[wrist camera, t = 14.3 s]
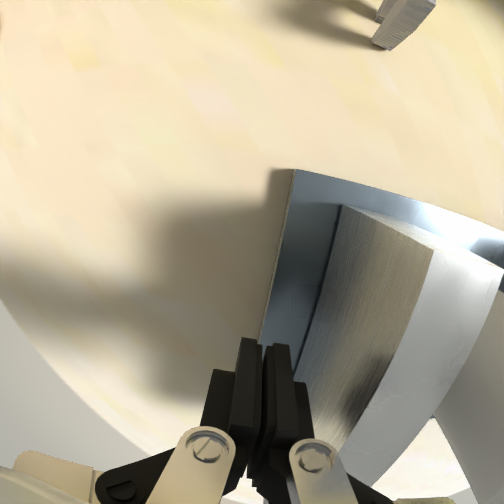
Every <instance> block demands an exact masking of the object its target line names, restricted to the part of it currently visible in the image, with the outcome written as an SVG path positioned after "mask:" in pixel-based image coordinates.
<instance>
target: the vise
mask: <svg viewBox="0 0 504 504" xmlns="http://www.w3.org/2000/svg"><path fill="white" fill-rule="evenodd" d="M343 204H345V205H349V206H353V207H358V208H362V209H366V210H370V211H374V212H378V213H382V214H385V215H389V216H393V217H396V218H398V219H401V220H403V221H405V222H408V223H410V224H412V225H415V226H417V227H419V228H421V229H424V230H426V231H428V232H430V233H432V234H435V235H437V236H439V237H441V238H443V239H445V240H447V241H450V242H452V243H454V244H456V245H458V246H460V247H462V248H464V249H466V250H468V251H470V252H472V253H474V254H476V255H478V256H480V257H482V258H483V259H485V260H487V261H489V262H491V263H493V264H495V265H497V266H498V267H500V268H502V269H504V232H502V231H499V230H497V229H494V228H492V227H490V226H487V225H485V224H482V223H480V222H477V221H474V220H472V219H469V218H466V217H464V216H461V215H458V214H456V213H453V212H450V211H447V210H444V209H441V208H439V207H436V206H433V205H430V204H427V203H424V202H420V201H417V200H414V199H411V198H408V197H405V196H401V195H398V194H395V193H391V192H388V191H384V190H381V189H377V188H374V187H370V186H366V185H362V184H359V183H355V182H351V181H347V180H343V179H339V178H335V177H331V176H326V175H322V174H318V173H313V172H309V171H304V170H299V169H294V171H293V177H292V182H291V187H290V192H289V197H288V202H287V207H286V212H285V217H284V222H283V227H282V232H281V237H280V242H279V247H278V251H277V256H276V261H275V266H274V270H273V275H272V280H271V284H270V289H269V293H268V298H267V303H266V307H265V312H264V316H263V320H262V325H261V329H260V334H259V338H258V342H257V344H261V345H263V351H262V361H263V357H264V353H265V350H266V346H267V345H268V346H272V344H273V343H281V344H288V345H289V347H290V355H291V363H292V371H293V378H294V375H295V372H296V369H297V366H298V364H299V361H300V358H301V355H302V352H303V349H304V345H305V342H306V339H307V336H308V333H309V330H310V326H311V323H312V320H313V317H314V313H315V310H316V307H317V303H318V300H319V296H320V293H321V289H322V285H323V282H324V278H325V275H326V271H327V267H328V263H329V259H330V255H331V252H332V248H333V244H334V239H335V235H336V231H337V227H338V223H339V218H340V214H341V209H342V205H343ZM498 290H500V291H501V292H503V293H504V273H503V276H502V279H501V282H500V285H499V288H498ZM431 418H435V417H434V415H433V414H432V416H431V417H430V419H431Z"/></svg>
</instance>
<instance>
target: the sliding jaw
mask: <svg viewBox="0 0 504 504" xmlns="http://www.w3.org/2000/svg"><path fill="white" fill-rule="evenodd" d="M503 273H504V269H502V268H500V267H498V266H497V265H495V264H493V263H491V262H489V261H487V260H485V259H483V258H482V257H480V256H478V255H476V254H474V253H472V252H470V251H468V250H466V249H464V248H462V247H460V246H458V245H456V244H454V243H452V242H450V241H447V240H445V239H443V238H441V237H439V236H437V235H435V234H432V233H430V232H428V231H426V230H424V229H421V228H419V227H417V226H415V225H412V224H410V223H408V222H405V221H403V220H401V219H398V218H396V217H393V216H389V215H385V214H382V213H378V212H374V211H370V210H366V209H362V208H358V207H353V206H349V205H345V204H343V205H342V209H341V214H340V218H339V223H338V227H337V231H336V235H335V239H334V244H333V248H332V252H331V255H330V259H329V263H328V267H327V271H326V275H325V278H324V282H323V285H322V289H321V293H320V296H319V300H318V303H317V307H316V310H315V313H314V317H313V320H312V323H311V326H310V330H309V333H308V336H307V339H306V342H305V345H304V349H303V352H302V355H301V358H300V361H299V364H298V366H297V369H296V372H295V375H294V378H293V380H294V381H297V382H305V383H306V386H307V391H308V397H309V403H310V409H311V416H312V422H313V428H314V435H315V439H319V440H323V441H325V442H327V443H329V444H331V445H332V446H333V447H334V448H335V449H336V451H337V452H338V454H339V456H340V459H341V461H342V464H343V466H344V469H345V471H346V472H347V473H348V474H350V475H351V476H353V477H354V478H356V479H357V480H359V481H361V482H362V483H364V484H366V485H367V486H369V487H371V486H372V485H373V484H374V483H375V482H376V481H377V480H378V479H379V478H380V477H381V476H382V475H383V474H384V473H385V472H386V471H387V470H388V469H389V468H390V467H391V466H392V464H393V463H394V462H395V461H396V460H397V459H398V458H399V457H400V455H401V454H402V453H403V452H404V451H405V450H406V448H407V447H408V446H409V445H410V443H411V442H412V441H413V440H414V438H415V437H416V436H417V435H418V433H419V432H420V431H421V429H422V428H423V427H424V425H425V424H426V423H427V421H428V420H429V419H430V417H431V416H432V414H433V413H434V412H435V410H436V409H437V407H438V406H439V404H440V403H441V401H442V400H443V398H444V397H445V395H446V394H447V392H448V390H449V389H450V387H451V386H452V384H453V382H454V381H455V379H456V377H457V375H458V374H459V372H460V370H461V368H462V367H463V365H464V363H465V361H466V359H467V358H468V356H469V354H470V352H471V350H472V348H473V346H474V344H475V342H476V340H477V338H478V336H479V334H480V331H481V329H482V327H483V325H484V323H485V320H486V318H487V316H488V313H489V311H490V309H491V306H492V304H493V301H494V298H495V296H496V293H497V290H498V288H499V285H500V282H501V279H502V276H503Z"/></svg>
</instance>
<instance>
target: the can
mask: <svg viewBox="0 0 504 504" xmlns="http://www.w3.org/2000/svg"><path fill="white" fill-rule="evenodd" d="M433 415H434V417H435V419H436V420H437V422H438V424H439V426H440V428H441V429H442V431H443V433H444V435H445V437H446V439H447V441H448V442H449V444H450V446H451V448H452V450H453V452H454V454H455V456H456V458H457V460H458V462H459V464H460V466H461V468H462V470H463V472H464V474H465V476H466V478H467V480H468V482H469V484H470V487H471V489H472V491H473V493H474V495H475V497H476V500H477V502H478V504H504V293H503V292H501V291H500V290H497V293H496V296H495V298H494V301H493V304H492V306H491V309H490V311H489V313H488V316H487V318H486V320H485V323H484V325H483V327H482V329H481V331H480V334H479V336H478V338H477V340H476V342H475V344H474V346H473V348H472V350H471V352H470V354H469V356H468V358H467V359H466V361H465V363H464V365H463V367H462V368H461V370H460V372H459V374H458V375H457V377H456V379H455V381H454V382H453V384H452V386H451V387H450V389H449V390H448V392H447V394H446V395H445V397H444V398H443V400H442V401H441V403H440V404H439V406H438V407H437V409H436V410H435V412H434V413H433Z"/></svg>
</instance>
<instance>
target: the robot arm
mask: <svg viewBox="0 0 504 504" xmlns="http://www.w3.org/2000/svg"><path fill="white" fill-rule="evenodd" d="M262 351H263V345H261V344H257V340H256V339H250V338H244V337H242V339H241V343H240V348H239V353H238V358H237V363H236V368H235V372H229V371H224V370H218V369H214V370H213V373H212V377H211V381H210V385H209V390H208V394H207V398H206V402H205V406H204V410H203V414H202V418H201V423H200V426H199V427H195V428H191V429H190V430H188V431H186V432H185V433H184V434H183V436H182V437H181V438H180V440H179V442H178V444H177V446H176V447H175V448H173V449H170V450H168V451H165V452H162V453H160V454H157V455H154V456H151V457H149V458H146V459H143V460H140V461H137V462H134V463H131V464H128V465H125V466H121V467H118V468H115V469H111V470H108V471H106V472H102V471H97V470H94V468H93V467H89V466H85V465H81V464H77V463H73V462H69V461H66V460H62V459H59V458H55V457H52V456H49V455H46V454H43V453H39V452H36V451H25V452H22V453H21V454H20V455H18V457H17V458H16V460H15V463H14V466H13V469H9V468H6V467H2V466H0V504H220V501H221V498H222V496H224V495H226V494H228V493H229V492H231V491H233V490H235V489H236V487H237V484H238V482H239V479H240V477H241V478H242V476H243V474H244V471H245V469H246V466H247V478H249V479H252V487H257V492H258V493H259V494H260V495H261V496H263V497H264V500H263V503H264V504H455V503H454V501H453V500H451V499H449V498H447V497H436V498H414V499H397V500H396V501H392V500H390V499H389V498H388V497H386V496H384V495H382V494H381V493H379V492H377V491H376V490H374V489H372V488H371V487H369V486H367V485H366V484H364V483H362V482H361V481H359V480H357V479H356V478H354V477H353V476H351V475H350V474H348V473H347V472H346V471H345V469H344V466H343V464H342V461H341V459H340V456H339V454H338V452H337V451H336V449H335V448H334V447H333V446H332V445H331V444H329V443H327V442H325V441H323V440H319V439H315V435H314V428H313V422H312V416H311V409H310V403H309V397H308V391H307V386H306V383H305V382H297V381H294V380H293V371H292V363H291V355H290V347H289V345H288V344H281V343H273V344H272V346H268V345H267V346H266V350H265V353H264V357H263V361H262Z"/></svg>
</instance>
